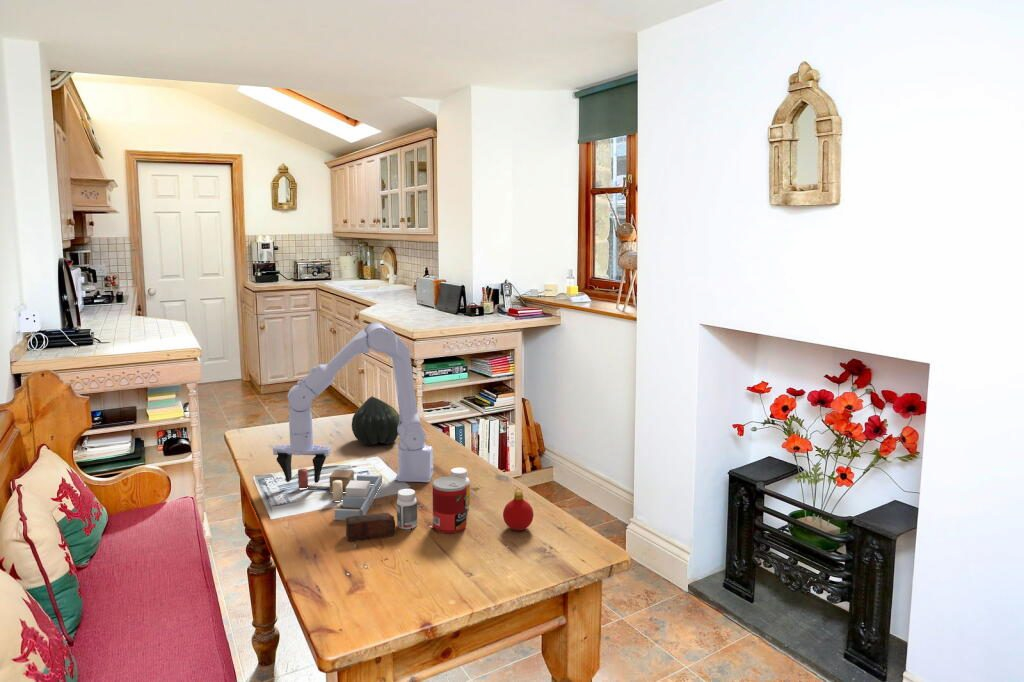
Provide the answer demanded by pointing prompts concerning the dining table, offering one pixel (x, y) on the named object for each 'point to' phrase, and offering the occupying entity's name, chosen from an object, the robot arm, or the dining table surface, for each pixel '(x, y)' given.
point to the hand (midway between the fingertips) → (303, 480)
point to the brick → (369, 527)
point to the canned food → (449, 504)
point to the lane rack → (359, 499)
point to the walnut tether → (336, 475)
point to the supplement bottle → (463, 474)
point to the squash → (375, 422)
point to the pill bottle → (406, 509)
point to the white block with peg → (350, 489)
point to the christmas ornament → (518, 513)
